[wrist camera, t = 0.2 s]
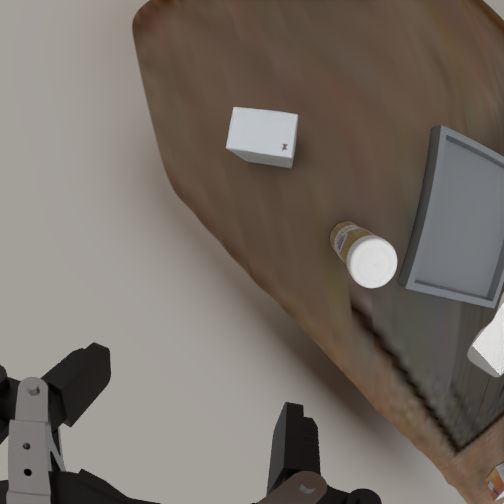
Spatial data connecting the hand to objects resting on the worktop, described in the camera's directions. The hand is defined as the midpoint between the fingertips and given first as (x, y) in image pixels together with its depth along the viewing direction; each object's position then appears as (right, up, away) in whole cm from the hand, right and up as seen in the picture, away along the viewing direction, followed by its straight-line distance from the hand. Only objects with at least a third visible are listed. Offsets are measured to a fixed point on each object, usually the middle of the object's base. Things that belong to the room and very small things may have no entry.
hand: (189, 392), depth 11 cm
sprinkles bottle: (+15, +8, +26) cm, 31 cm away
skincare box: (+5, +19, +25) cm, 32 cm away
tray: (+34, +10, +23) cm, 42 cm away
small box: (+78, -62, +33) cm, 105 cm away
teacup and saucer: (+54, -8, +25) cm, 60 cm away
